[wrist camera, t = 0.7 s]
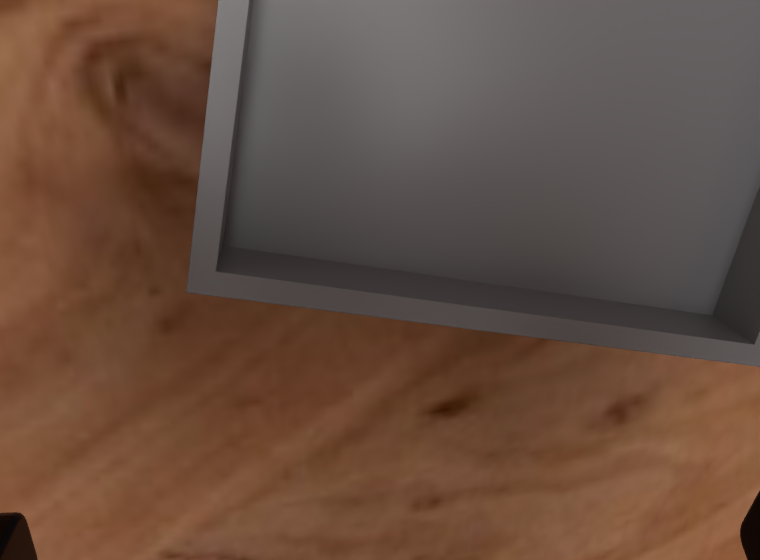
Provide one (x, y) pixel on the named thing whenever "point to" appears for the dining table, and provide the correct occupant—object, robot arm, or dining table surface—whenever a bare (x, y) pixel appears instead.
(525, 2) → the grey footed tray
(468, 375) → the dining table surface
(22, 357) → the dining table surface
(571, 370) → the dining table surface
